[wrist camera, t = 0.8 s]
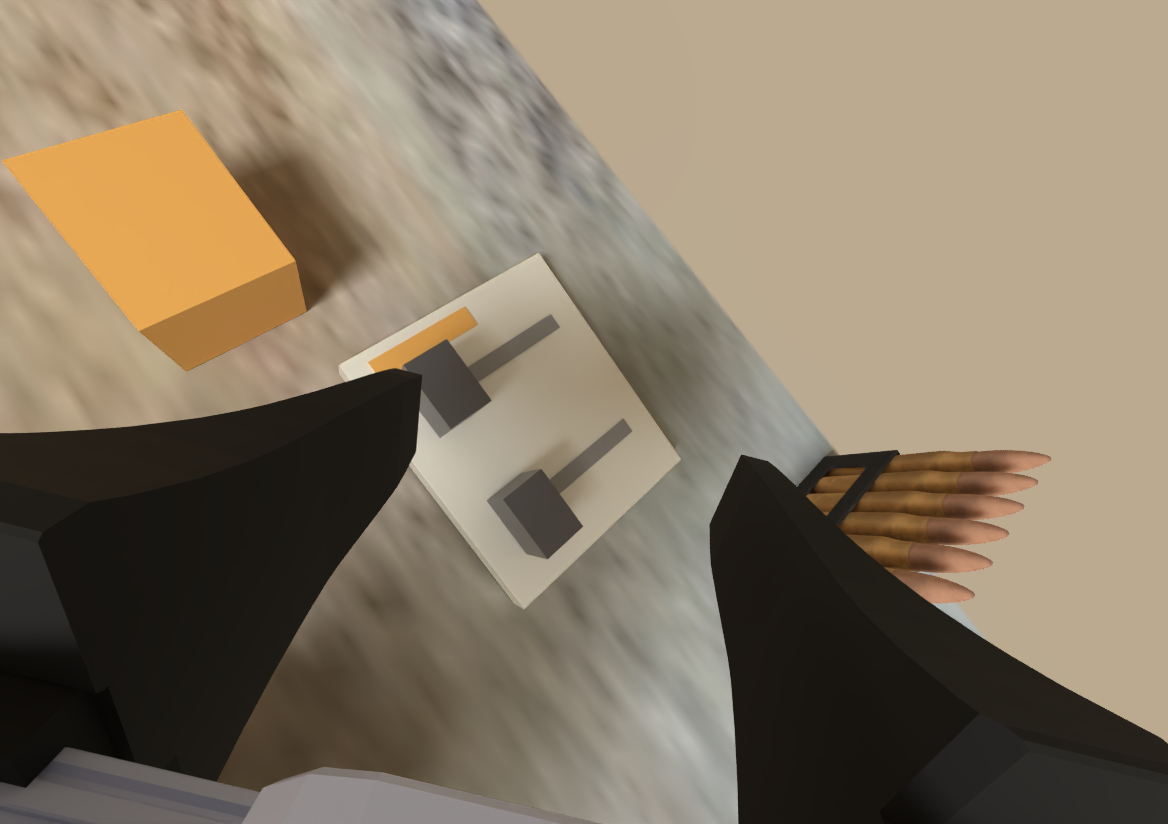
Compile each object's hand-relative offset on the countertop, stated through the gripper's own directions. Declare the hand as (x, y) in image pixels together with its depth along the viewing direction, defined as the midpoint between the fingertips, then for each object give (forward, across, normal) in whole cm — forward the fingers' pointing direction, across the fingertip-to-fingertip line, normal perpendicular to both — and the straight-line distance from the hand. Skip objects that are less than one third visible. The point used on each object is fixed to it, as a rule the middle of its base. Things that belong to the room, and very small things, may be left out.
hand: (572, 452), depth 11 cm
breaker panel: (+12, +3, +7) cm, 14 cm away
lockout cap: (+10, +16, +2) cm, 19 cm away
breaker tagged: (+10, +6, +5) cm, 13 cm away
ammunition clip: (+17, -14, +12) cm, 25 cm away
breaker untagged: (+8, +1, +9) cm, 12 cm away
